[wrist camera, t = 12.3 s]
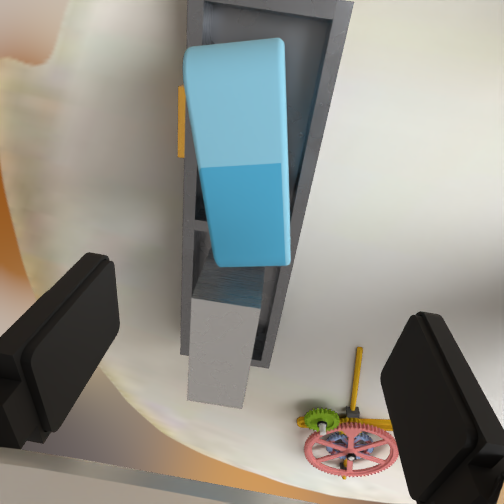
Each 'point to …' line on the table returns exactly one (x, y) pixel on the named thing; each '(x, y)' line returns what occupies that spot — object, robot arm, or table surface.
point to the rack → (300, 180)
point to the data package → (242, 148)
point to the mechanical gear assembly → (348, 435)
